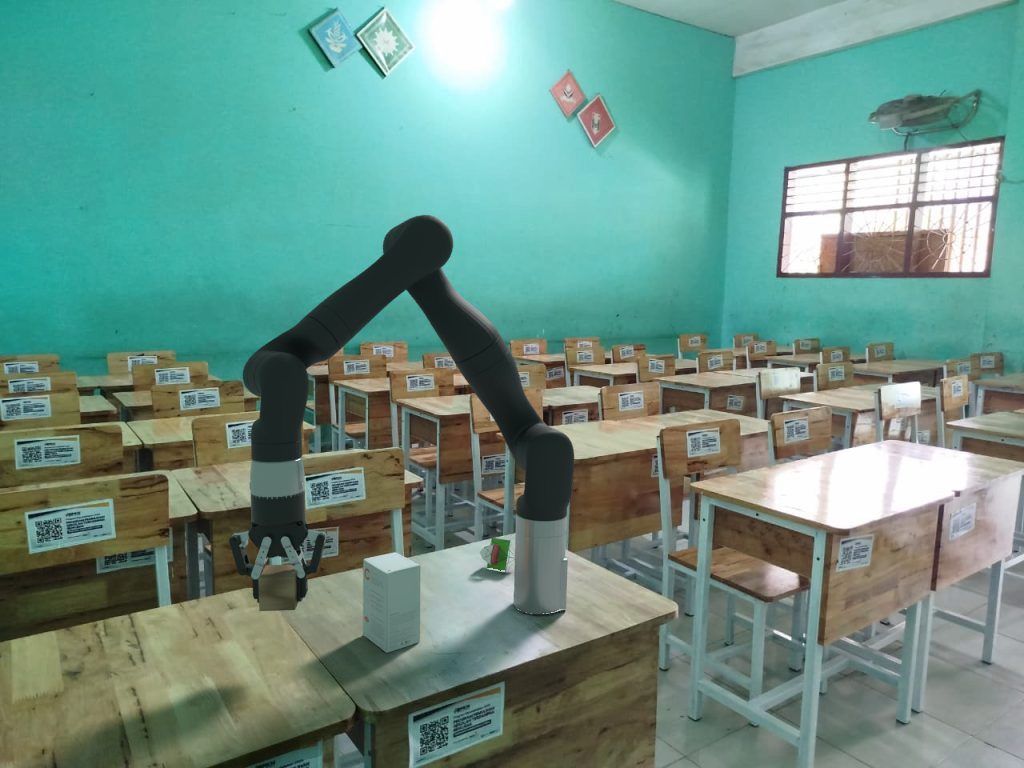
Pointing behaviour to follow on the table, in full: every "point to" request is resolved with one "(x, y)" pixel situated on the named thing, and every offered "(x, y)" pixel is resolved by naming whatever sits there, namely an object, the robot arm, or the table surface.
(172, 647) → the table surface
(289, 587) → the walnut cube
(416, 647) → the table surface
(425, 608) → the table surface
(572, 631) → the table surface
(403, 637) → the small box
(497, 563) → the geometric puzzle
